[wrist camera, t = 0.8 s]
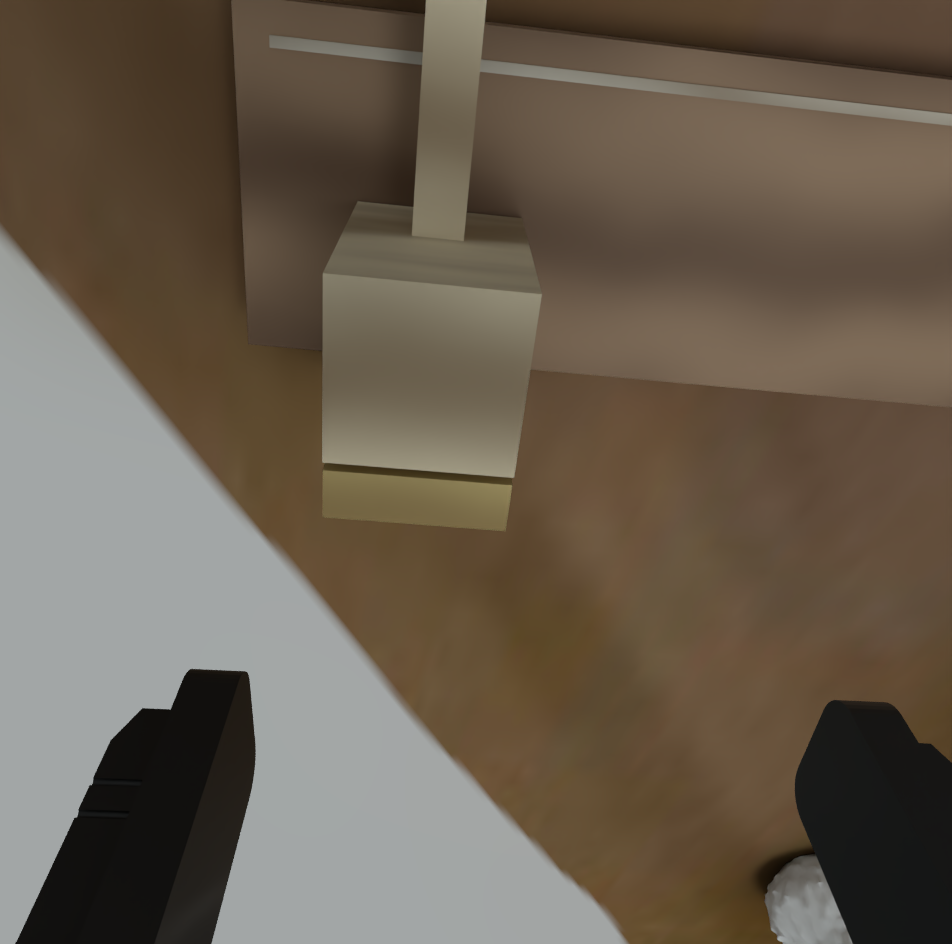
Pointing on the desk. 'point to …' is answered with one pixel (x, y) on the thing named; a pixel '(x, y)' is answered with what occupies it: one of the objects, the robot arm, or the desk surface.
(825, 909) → the seated beast figurine
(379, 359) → the wooden mallet
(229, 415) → the desk surface
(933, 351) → the board
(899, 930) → the robot arm
